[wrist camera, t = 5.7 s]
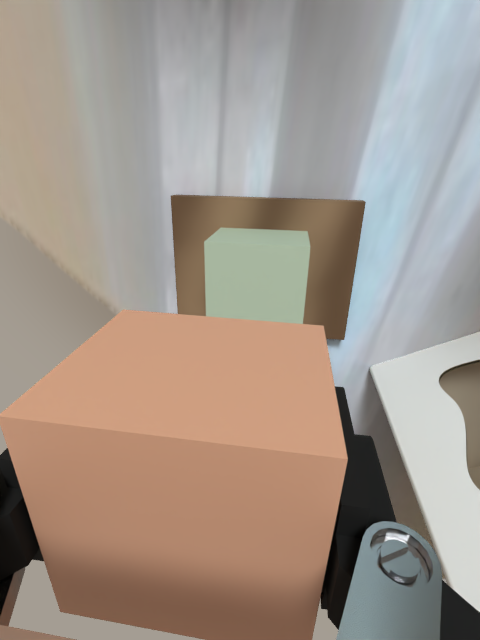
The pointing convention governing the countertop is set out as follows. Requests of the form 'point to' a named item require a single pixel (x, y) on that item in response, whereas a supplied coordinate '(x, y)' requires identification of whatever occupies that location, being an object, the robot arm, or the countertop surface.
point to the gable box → (441, 448)
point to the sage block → (257, 274)
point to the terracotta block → (186, 474)
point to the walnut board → (273, 214)
